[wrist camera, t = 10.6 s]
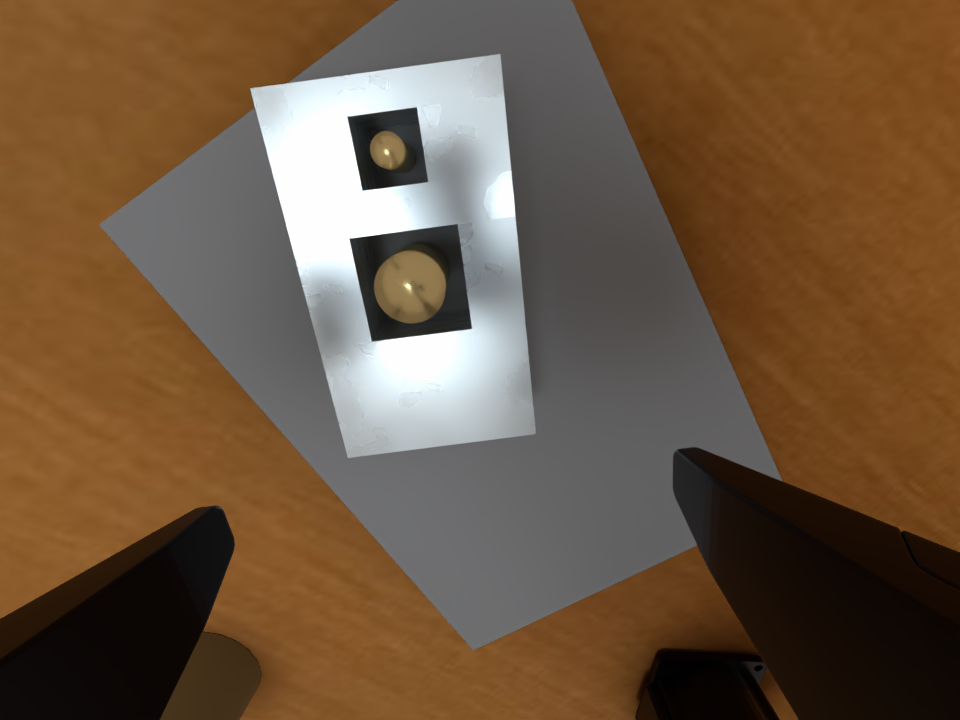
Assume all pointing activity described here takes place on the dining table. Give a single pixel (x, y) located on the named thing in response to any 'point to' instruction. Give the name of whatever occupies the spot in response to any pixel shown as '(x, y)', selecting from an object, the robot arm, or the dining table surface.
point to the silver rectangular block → (372, 211)
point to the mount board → (547, 305)
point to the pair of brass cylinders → (408, 253)
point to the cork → (215, 681)
